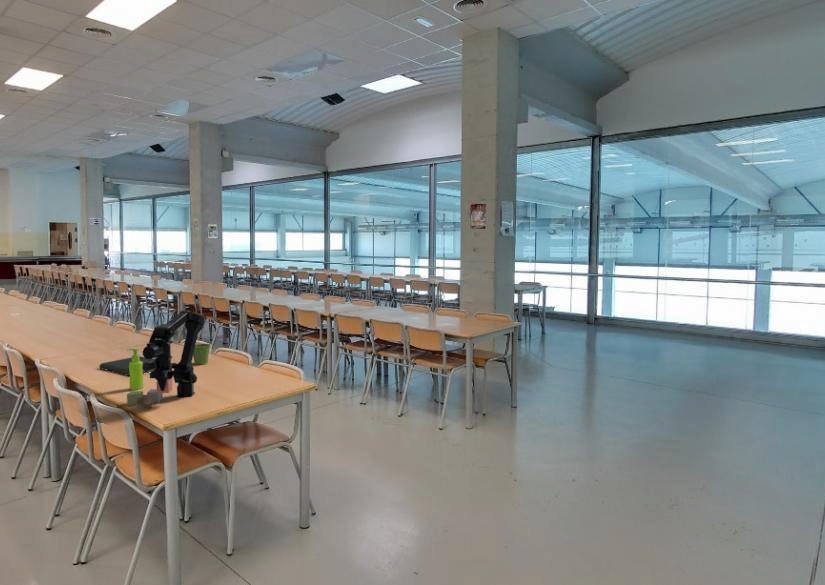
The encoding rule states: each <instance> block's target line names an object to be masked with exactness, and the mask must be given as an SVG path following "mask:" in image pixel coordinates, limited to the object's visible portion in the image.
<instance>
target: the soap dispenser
mask: <svg viewBox="0 0 825 585" xmlns="http://www.w3.org/2000/svg"><path fill="white" fill-rule="evenodd" d="M126 351H133V354H132V355H131V357H132V362H130V363H129V375H130V376H129V375H128V376H129V390H130V389H131V390H130V391H139V390H138V389H140V390H142V388H143V389H144V375H143V369H142V366H143V364H142V362H141V361H140V358H139V356H140V354H138V351H140V348H132V347H131V348H129V349H126Z"/></svg>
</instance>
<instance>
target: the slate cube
mask: <svg viewBox="0 0 825 585" xmlns="http://www.w3.org/2000/svg"><path fill="white" fill-rule="evenodd" d="M163 394H164V393H157V388H156V389H153V388H152V389H150V390H148V391H146V395H153V402H159V403H161V402H162V401H163V400H164V399H163V398H164V397H163ZM162 399H163V400H162ZM161 400H162V401H161ZM160 401H161V402H160Z"/></svg>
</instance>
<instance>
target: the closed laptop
mask: <svg viewBox="0 0 825 585" xmlns="http://www.w3.org/2000/svg"><path fill="white" fill-rule="evenodd" d="M139 358H140V361H141V362H142V364H143V363H146V362H152V361H154V359H155V358H153V359H146V358H145V357H144V356H140V355H139ZM130 362H132V356H131V357H128V358H123V359H116V360H112V361H107V362H102V363H101V364H99V369H100V368H103V369H102V370H104V369H107V370H106V371H108V370H111V371H110V372H112V371H114V372H113V373H116V372H118V373H117V374H120V373H123V374H122V375H125V374H127V375H126V376H129V363H130ZM152 371H154V369H152V370H149V371H147V372H145V371H144V370H143V374H144V373H149V372H152ZM149 374H150V373H149ZM144 375H145V374H144Z"/></svg>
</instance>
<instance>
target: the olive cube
mask: <svg viewBox="0 0 825 585" xmlns="http://www.w3.org/2000/svg"><path fill="white" fill-rule="evenodd" d="M140 395H144V391H143V390H130V392H128V393H127V394H126V405H127V406H134V405H133V404H137V397H139V396H140Z"/></svg>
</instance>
